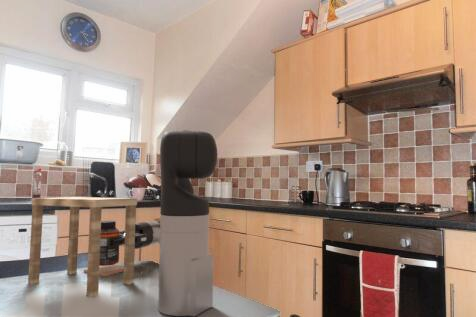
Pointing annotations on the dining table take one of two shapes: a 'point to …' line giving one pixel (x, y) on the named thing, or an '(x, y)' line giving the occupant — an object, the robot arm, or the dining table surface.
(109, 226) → the supplement bottle
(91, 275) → the small wooden table
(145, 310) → the dining table surface
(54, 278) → the dining table surface
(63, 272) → the dining table surface
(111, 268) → the coaster
